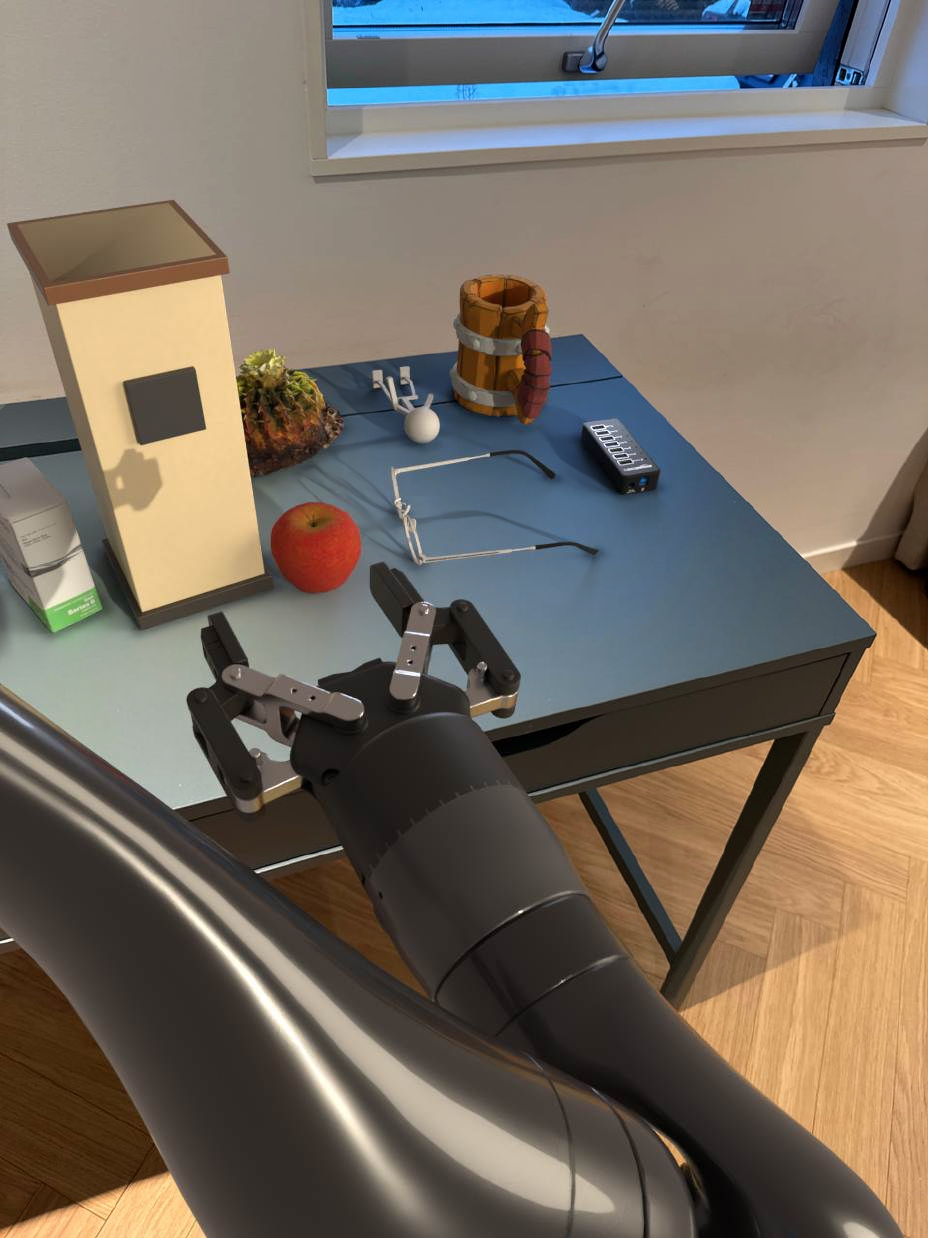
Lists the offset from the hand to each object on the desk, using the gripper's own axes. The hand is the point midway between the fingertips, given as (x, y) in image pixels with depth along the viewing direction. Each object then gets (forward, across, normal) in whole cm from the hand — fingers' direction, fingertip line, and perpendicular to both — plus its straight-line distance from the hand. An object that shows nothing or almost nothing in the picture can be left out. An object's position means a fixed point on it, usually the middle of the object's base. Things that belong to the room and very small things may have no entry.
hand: (298, 599), depth 45 cm
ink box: (+34, +10, +26) cm, 44 cm away
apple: (+26, -11, +25) cm, 38 cm away
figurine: (+48, -32, +26) cm, 63 cm away
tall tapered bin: (+33, -1, +26) cm, 42 cm away
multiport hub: (+29, -48, +25) cm, 61 cm away
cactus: (+51, -16, +26) cm, 60 cm away
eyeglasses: (+26, -29, +25) cm, 46 cm away
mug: (+45, -43, +26) cm, 68 cm away
